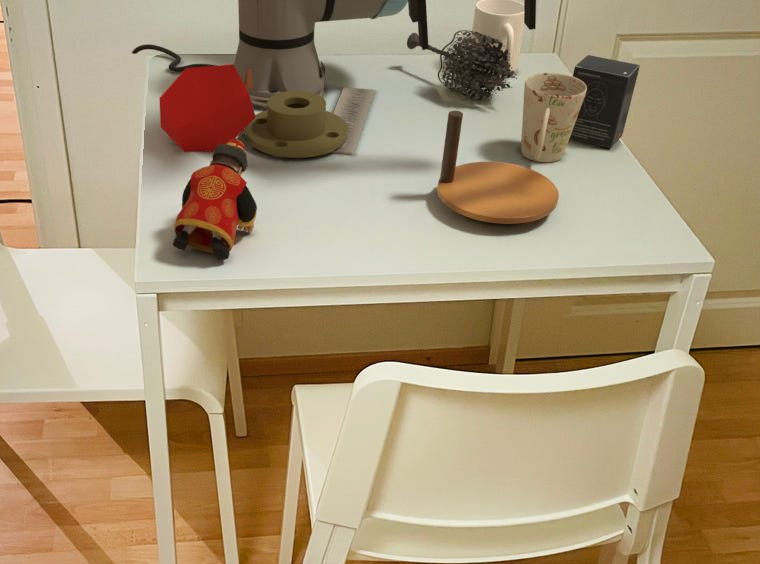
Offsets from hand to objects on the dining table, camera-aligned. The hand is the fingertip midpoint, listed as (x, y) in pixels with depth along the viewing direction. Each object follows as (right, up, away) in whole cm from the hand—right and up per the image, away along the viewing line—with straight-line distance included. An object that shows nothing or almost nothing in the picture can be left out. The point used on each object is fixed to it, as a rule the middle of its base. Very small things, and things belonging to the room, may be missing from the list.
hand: (476, 36), depth 120 cm
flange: (-16, -7, +14) cm, 22 cm away
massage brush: (+1, +11, +25) cm, 28 cm away
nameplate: (-12, -3, +23) cm, 26 cm away
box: (+21, -6, +20) cm, 30 cm away
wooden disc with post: (+3, -19, +3) cm, 20 cm away
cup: (+10, +10, +38) cm, 40 cm away
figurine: (-35, -29, -7) cm, 46 cm away
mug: (+12, -12, +14) cm, 22 cm away
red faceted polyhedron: (-43, -7, +14) cm, 45 cm away
